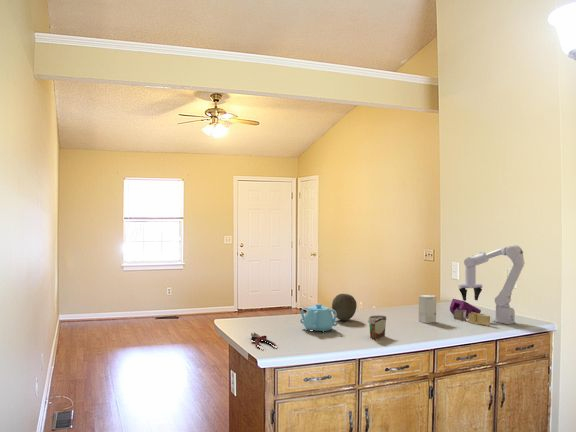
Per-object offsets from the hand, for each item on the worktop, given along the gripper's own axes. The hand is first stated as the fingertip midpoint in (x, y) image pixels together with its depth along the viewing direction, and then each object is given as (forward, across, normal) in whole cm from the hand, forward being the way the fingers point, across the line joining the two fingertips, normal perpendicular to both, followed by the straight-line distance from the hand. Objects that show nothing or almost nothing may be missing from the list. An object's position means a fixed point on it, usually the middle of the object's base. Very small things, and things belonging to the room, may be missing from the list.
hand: (470, 300), depth 288 cm
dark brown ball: (+10, +77, -4) cm, 78 cm away
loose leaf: (+10, +5, +17) cm, 20 cm away
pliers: (+10, +130, +34) cm, 135 cm away
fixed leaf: (+10, +10, +6) cm, 15 cm away
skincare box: (+10, +31, +7) cm, 34 cm away
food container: (+10, +73, +33) cm, 81 cm away
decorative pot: (+10, +97, +14) cm, 98 cm away
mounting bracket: (+10, -2, -7) cm, 13 cm away
